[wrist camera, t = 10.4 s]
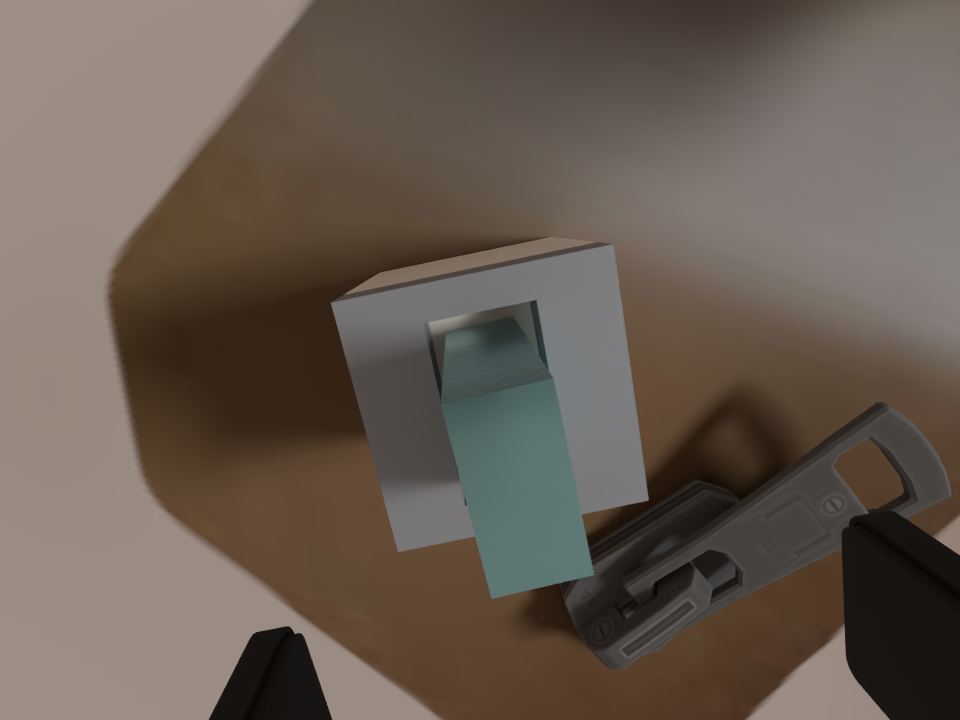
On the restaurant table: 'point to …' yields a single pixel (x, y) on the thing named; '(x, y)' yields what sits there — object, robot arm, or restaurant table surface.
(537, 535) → the teal block
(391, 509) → the white slotted box
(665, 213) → the restaurant table surface
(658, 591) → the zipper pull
